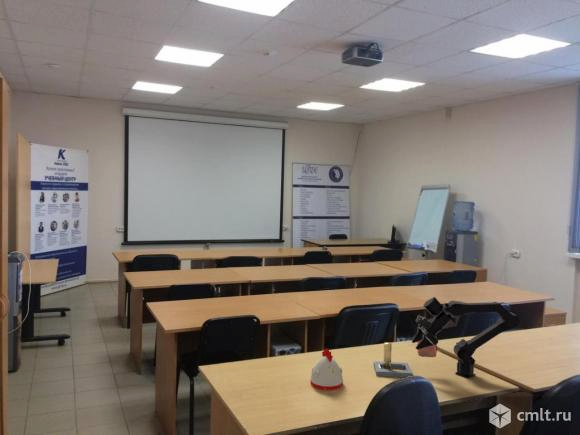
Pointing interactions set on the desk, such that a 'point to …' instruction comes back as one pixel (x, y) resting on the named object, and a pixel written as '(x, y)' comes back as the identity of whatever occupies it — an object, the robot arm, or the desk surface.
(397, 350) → the desk surface
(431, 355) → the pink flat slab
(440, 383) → the desk surface
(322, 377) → the kitchen timer
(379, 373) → the square frame
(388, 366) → the brass peg
